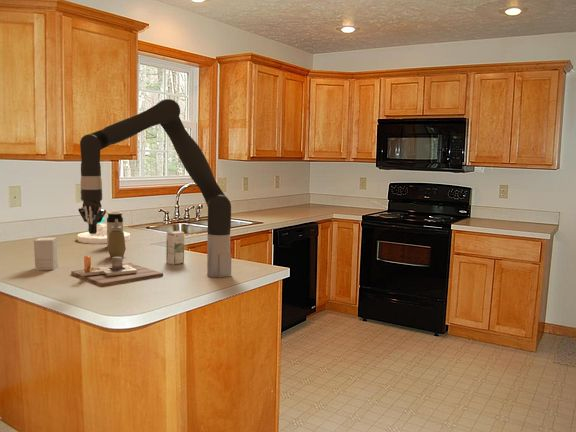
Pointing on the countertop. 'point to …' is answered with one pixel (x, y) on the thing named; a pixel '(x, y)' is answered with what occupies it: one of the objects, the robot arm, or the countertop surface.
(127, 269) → the square frame with handle
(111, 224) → the travel mug
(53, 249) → the supplement box
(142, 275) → the post board
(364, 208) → the countertop surface
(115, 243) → the squeeze bottle
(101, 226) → the cake
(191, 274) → the countertop surface
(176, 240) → the syrup box
